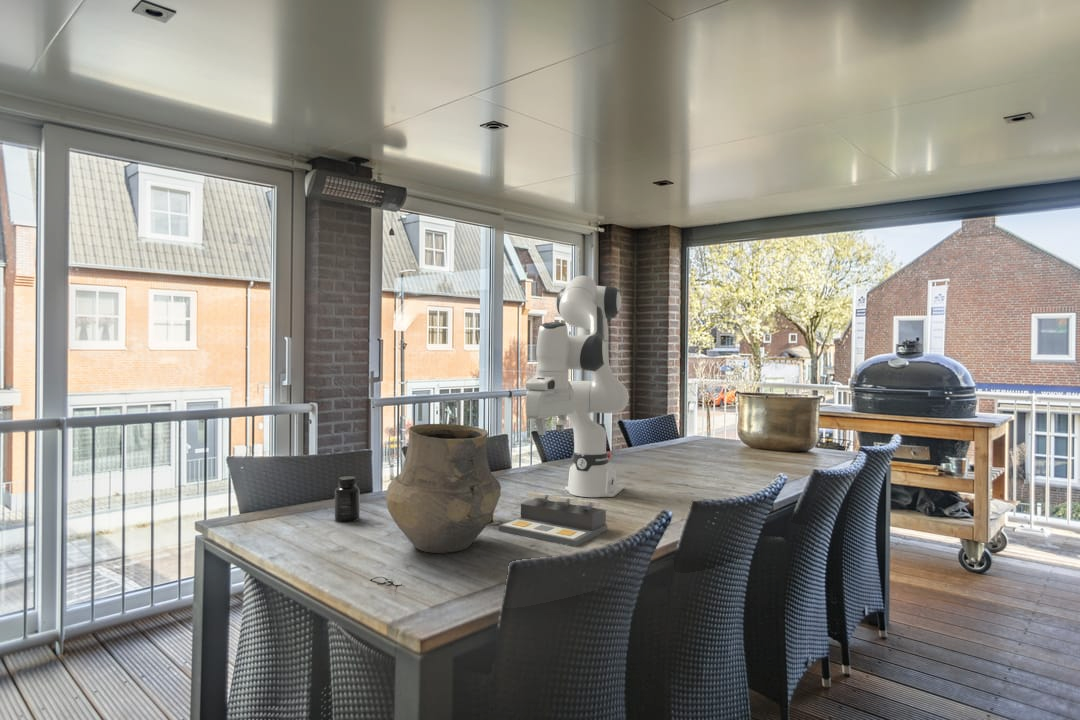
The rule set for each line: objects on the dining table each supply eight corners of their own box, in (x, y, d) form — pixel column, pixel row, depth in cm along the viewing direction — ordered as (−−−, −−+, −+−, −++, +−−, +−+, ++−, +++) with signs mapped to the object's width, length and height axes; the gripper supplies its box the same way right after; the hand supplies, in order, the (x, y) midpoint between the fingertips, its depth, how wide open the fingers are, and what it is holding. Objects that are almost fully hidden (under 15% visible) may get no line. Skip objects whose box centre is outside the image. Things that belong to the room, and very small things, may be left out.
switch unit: (534, 516, 189) (534, 498, 188) (607, 530, 176) (607, 510, 176) (498, 530, 173) (498, 510, 173) (575, 546, 161) (576, 525, 160)
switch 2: (566, 505, 184) (567, 496, 184) (577, 506, 182) (578, 498, 182) (546, 504, 175) (548, 495, 175) (558, 506, 173) (559, 497, 173)
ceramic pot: (447, 524, 179) (449, 418, 178) (524, 545, 161) (526, 427, 160) (362, 547, 157) (363, 426, 156) (439, 575, 139) (441, 438, 138)
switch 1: (545, 501, 188) (546, 493, 188) (556, 503, 186) (557, 495, 186) (525, 501, 179) (526, 492, 179) (536, 502, 177) (537, 494, 177)
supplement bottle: (364, 518, 184) (364, 476, 184) (348, 523, 178) (348, 481, 177) (346, 515, 187) (346, 474, 186) (329, 520, 180) (329, 478, 180)
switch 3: (587, 508, 180) (588, 500, 181) (598, 510, 178) (599, 501, 179) (569, 508, 171) (570, 499, 172) (580, 510, 169) (581, 501, 170)
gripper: (561, 380, 183) (560, 428, 183) (521, 382, 165) (520, 435, 166) (580, 381, 179) (579, 429, 180) (542, 383, 162) (541, 438, 162)
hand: (551, 432), depth 172 cm, fingers open, 8 cm apart
